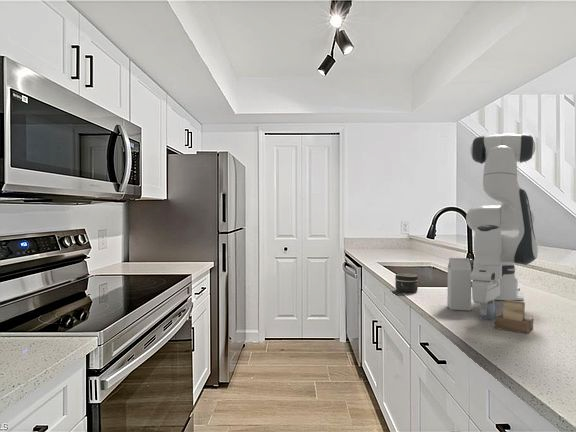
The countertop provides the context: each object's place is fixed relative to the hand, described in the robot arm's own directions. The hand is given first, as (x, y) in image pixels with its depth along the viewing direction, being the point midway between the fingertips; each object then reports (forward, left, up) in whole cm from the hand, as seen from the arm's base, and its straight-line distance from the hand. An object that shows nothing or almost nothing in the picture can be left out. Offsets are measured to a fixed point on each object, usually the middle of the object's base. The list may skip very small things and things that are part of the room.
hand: (487, 312), depth 145 cm
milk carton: (-8, -12, -2) cm, 15 cm away
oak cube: (+8, +10, +1) cm, 13 cm away
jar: (-27, -42, -2) cm, 50 cm away
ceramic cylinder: (0, 0, -2) cm, 2 cm away
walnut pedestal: (+8, +10, -2) cm, 13 cm away
